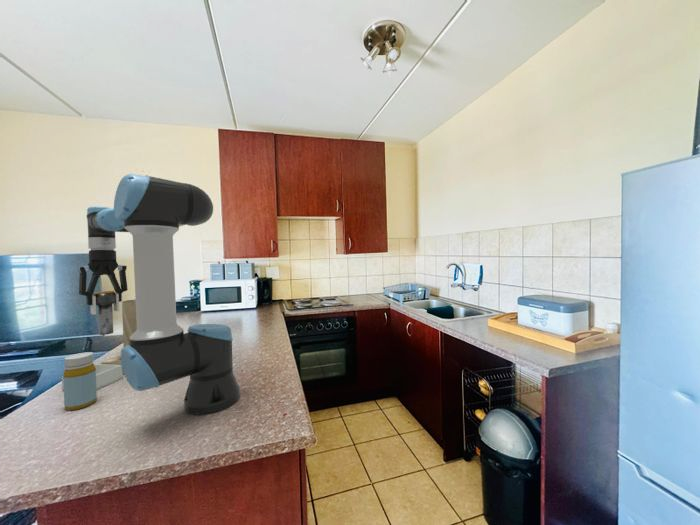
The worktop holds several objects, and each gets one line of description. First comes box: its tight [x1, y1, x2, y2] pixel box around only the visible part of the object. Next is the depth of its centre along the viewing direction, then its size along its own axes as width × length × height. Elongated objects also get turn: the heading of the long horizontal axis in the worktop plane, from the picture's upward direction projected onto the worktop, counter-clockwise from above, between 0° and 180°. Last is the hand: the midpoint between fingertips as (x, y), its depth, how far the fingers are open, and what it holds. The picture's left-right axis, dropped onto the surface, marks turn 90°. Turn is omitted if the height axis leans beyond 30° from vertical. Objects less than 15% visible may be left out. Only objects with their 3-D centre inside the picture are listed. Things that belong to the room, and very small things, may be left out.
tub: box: [61, 363, 123, 392], centre depth 97 cm, size 11×11×5 cm
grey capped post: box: [93, 290, 116, 336], centre depth 102 cm, size 6×6×16 cm
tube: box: [121, 298, 137, 348], centre depth 128 cm, size 10×10×25 cm
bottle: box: [62, 351, 98, 411], centre depth 83 cm, size 7×7×15 cm
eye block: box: [100, 355, 125, 375], centre depth 112 cm, size 12×12×4 cm
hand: (105, 312), depth 102 cm, fingers closed on grey capped post, 6 cm apart
